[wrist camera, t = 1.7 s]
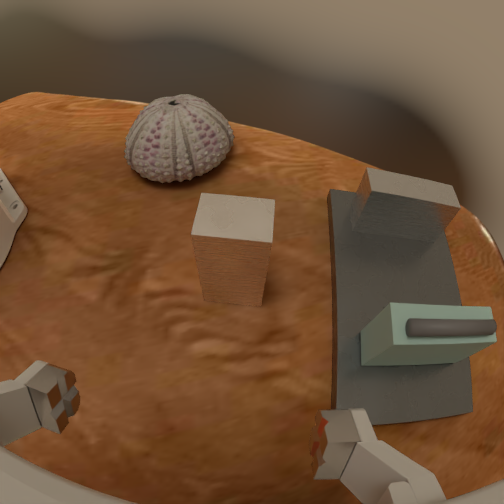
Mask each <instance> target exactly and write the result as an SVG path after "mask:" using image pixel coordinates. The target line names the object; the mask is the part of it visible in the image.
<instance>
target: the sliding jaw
mask: <svg viewBox="0 0 504 504" xmlns="http://www.w3.org/2000/svg"><path fill="white" fill-rule="evenodd" d="M496 328H497V325H496V322H495V320H493V315H492V310H491V307H477V306H449V305H427V304H408V303H391V302H390V303H389V304H388V305H387V306H386V307H385V308H384V309H383V310H382V311H381V312H380V313H379V314H378V315H377V316H376V317H375V318H374V319H373V320H372V321H371V322H370V323H369V324H368V325H367V326H365V327H364V328H363V329H362V330H361V366H390V365H425V364H444V363H456V362H458V361H461V360H463V359H465V358H467V357H469V356H471V355H473V354H475V353H477V352H478V351H480V350H482V349H484V348H486V347H488V346H490V345H492V344H493V343H495V342H497V339H496V332H495V331H496Z"/></svg>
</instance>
